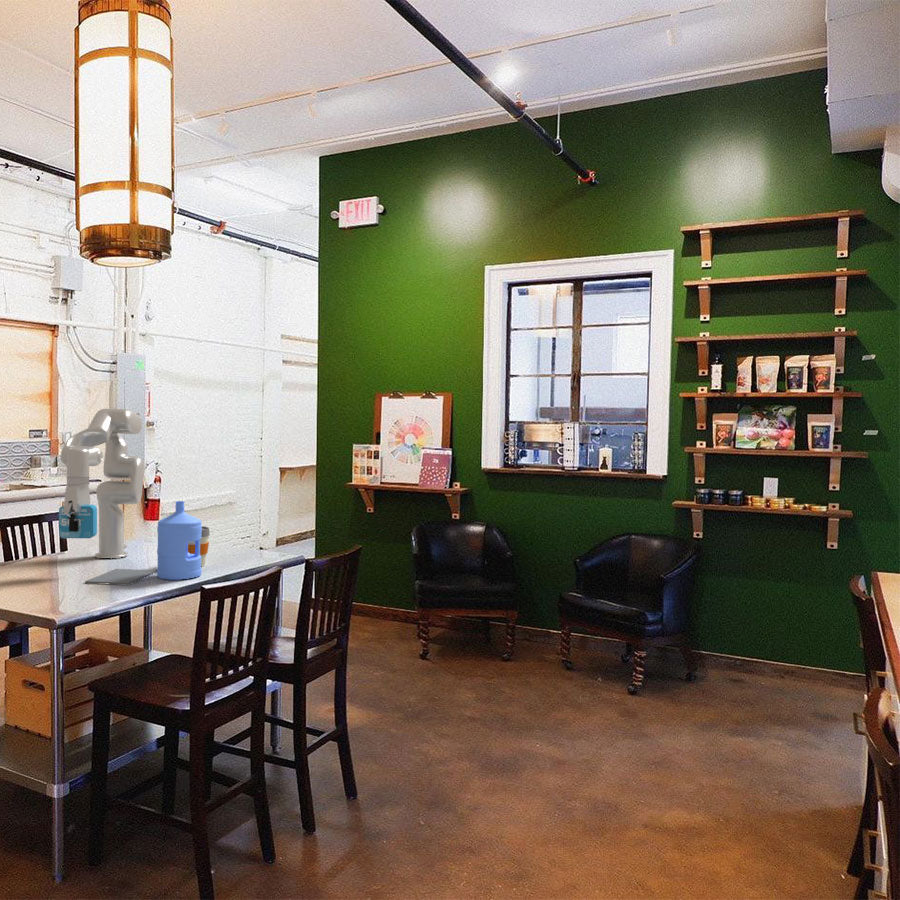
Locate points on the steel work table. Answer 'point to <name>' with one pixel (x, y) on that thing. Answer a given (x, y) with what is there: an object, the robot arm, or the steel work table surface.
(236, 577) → the steel work table surface
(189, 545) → the reusable coffee cup
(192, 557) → the water jug
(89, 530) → the data package
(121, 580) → the mat
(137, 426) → the robot arm
